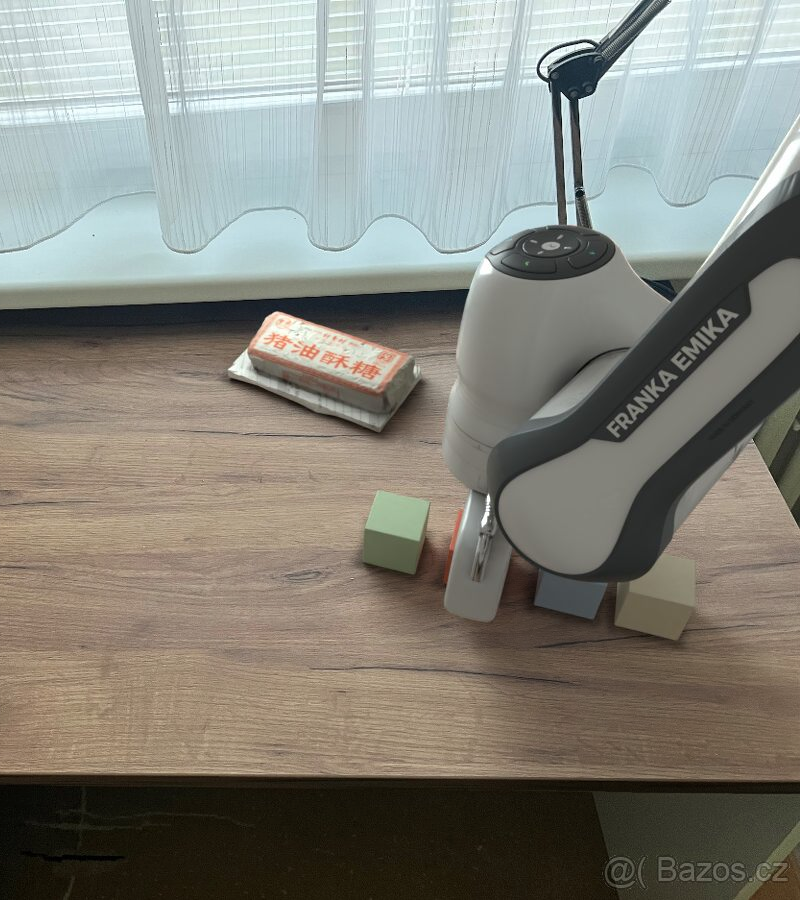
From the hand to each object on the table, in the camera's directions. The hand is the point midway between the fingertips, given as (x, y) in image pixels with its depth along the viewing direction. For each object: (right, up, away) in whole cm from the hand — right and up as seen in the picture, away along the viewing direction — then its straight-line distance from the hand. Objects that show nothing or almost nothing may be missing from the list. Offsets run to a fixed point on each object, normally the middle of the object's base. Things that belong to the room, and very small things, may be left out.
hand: (480, 558), depth 72 cm
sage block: (-6, 0, +3) cm, 7 cm away
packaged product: (-10, +16, +20) cm, 28 cm away
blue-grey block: (+7, -2, -1) cm, 7 cm away
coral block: (0, -1, +1) cm, 2 cm away
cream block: (+12, -4, -3) cm, 13 cm away
